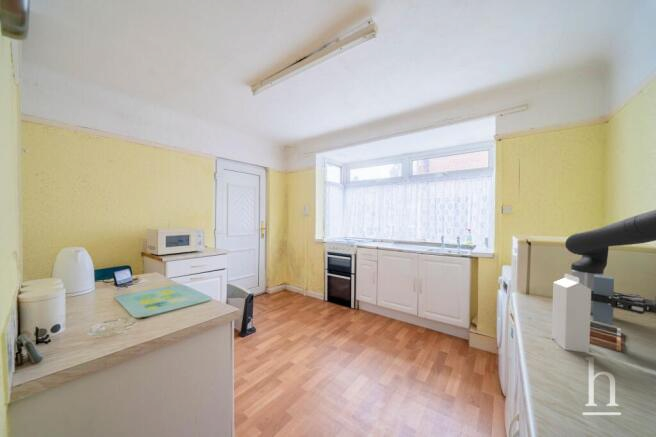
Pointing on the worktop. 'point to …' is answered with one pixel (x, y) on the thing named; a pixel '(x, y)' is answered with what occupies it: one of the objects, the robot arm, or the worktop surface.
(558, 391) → the worktop surface
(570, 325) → the milk
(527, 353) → the worktop surface
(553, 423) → the worktop surface
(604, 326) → the socket board
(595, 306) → the post
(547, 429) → the worktop surface
